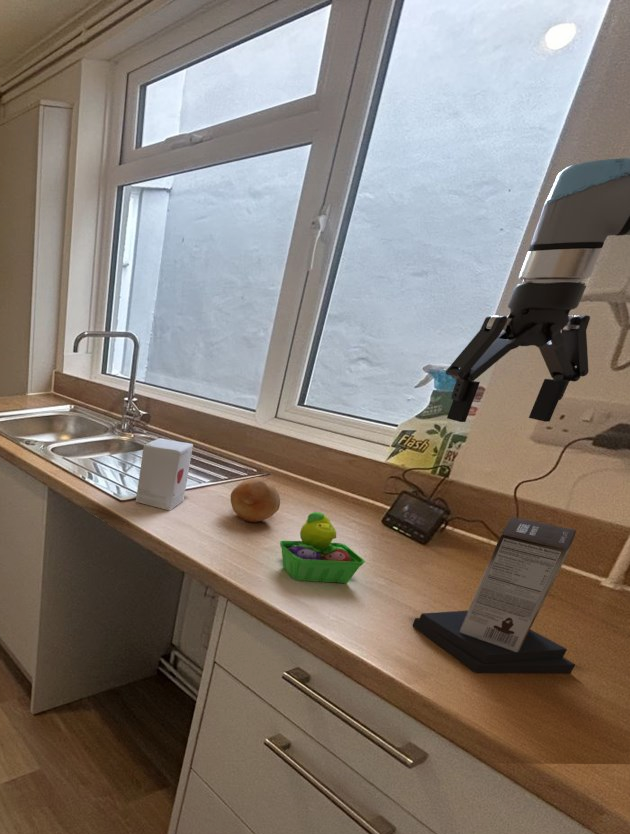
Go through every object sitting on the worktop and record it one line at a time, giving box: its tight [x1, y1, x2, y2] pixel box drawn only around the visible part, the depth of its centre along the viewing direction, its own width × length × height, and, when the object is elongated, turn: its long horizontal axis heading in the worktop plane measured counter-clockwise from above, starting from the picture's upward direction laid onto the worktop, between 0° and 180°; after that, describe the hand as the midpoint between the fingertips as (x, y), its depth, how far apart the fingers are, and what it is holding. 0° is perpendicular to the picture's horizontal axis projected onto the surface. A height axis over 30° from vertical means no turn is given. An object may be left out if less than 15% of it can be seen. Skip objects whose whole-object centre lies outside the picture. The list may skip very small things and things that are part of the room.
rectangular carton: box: [135, 437, 194, 512], centre depth 129 cm, size 9×9×15 cm
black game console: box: [412, 610, 576, 674], centre depth 77 cm, size 13×11×3 cm
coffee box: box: [460, 516, 577, 652], centre depth 73 cm, size 9×6×16 cm
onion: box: [229, 476, 281, 523], centre depth 119 cm, size 10×10×10 cm
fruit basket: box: [279, 511, 366, 584], centre depth 96 cm, size 11×9×11 cm
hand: (497, 420), depth 88 cm, fingers open, 13 cm apart
